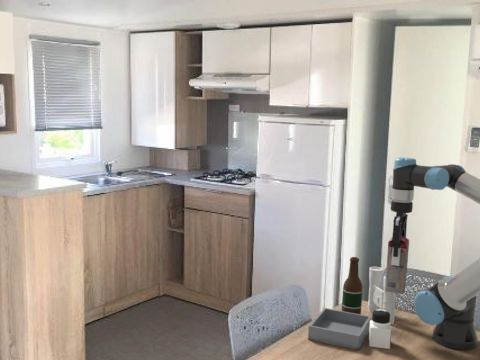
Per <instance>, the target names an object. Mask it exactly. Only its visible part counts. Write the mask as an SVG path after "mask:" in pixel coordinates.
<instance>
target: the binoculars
mask: <svg viewBox="0 0 480 360" xmlns="http://www.w3.org/2000/svg"><path fill="white" fill-rule="evenodd" d="M368 271H369V272H368V273H369V275H368V278H369V289H368V303H367V311H368V312H369V313H371V314H372V313H373V311H374V310H385V311H387V312H389V313H390V324H391V325H394V323H395V317H396V315H395V314H396V312H395V311H396V310H395V309H396V301H397V300H396V299H397V297H396V296H397V293H391V292H385V282H386V275H383V273H384V269H383V268H382V267H379V266H370V267H369V270H368ZM382 282H383V289H382Z"/></svg>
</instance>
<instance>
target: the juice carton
mask: <svg viewBox="0 0 480 360" xmlns="http://www.w3.org/2000/svg"><path fill="white" fill-rule="evenodd" d="M391 244H392V237H390V239H389V240H388V244H387V255H386V257H387V258H386V267H385V271H386V272H385V276H386V282H385V292H391V293H396V295H397V294H399V295H404V294H405V292H406V288H407V287H406V285H407V272H408V260H409V247H410V239H408V238H407V236H406V237H404V236H401V243H400V248H401V250H400V263H399V266H396V265H391V261H392V248H393V247H390V245H391Z"/></svg>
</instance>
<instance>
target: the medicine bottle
mask: <svg viewBox="0 0 480 360" xmlns="http://www.w3.org/2000/svg"><path fill="white" fill-rule="evenodd" d="M371 314H372V316H371V320H370V326H369V332H368V345H369V347H370V348H378V349H387V350H390V349H391V346H392V345H391V343H392V326H391V325H392V324H390V313H389V312H387V311H385V310H382V309H379V310H374V311H373V313H371Z"/></svg>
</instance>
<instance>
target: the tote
mask: <svg viewBox="0 0 480 360" xmlns="http://www.w3.org/2000/svg"><path fill="white" fill-rule="evenodd" d="M370 320H372V316H370V315H364V314H361V315H360V314H355V313H350V312H344V311H342V310H339V309H334V308H329V307H328V308H327V307H324V308H323V309H322V310H321V311H320V312H319V314H317V315H316V317H315V318H314V319H313V320H312V321H311V323H310V324H309V325H308V333H307V336H308V337H307V340H310V341H313V342H320V343H322V344H323V343H324V344H328V345H333V346H338V347H342V348H343V347H344V348H347V349H352V350H357V351H359V350H360V348H361V346H362V345H363V344H364V341H365V339H366V338H367V336H368V335H369V326H370Z"/></svg>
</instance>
